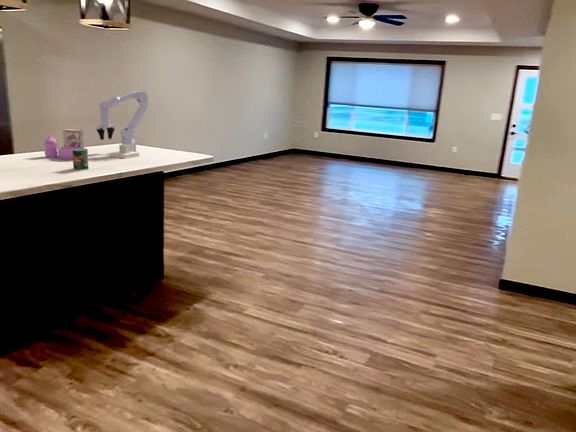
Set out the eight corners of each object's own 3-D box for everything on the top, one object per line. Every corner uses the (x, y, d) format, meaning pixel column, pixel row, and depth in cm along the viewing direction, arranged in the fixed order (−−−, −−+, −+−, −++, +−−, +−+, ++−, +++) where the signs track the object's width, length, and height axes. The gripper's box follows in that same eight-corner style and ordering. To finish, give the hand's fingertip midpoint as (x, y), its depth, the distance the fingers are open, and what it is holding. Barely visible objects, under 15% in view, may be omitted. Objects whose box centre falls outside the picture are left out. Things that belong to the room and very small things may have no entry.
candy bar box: (64, 155, 322) (62, 129, 318) (68, 154, 327) (66, 128, 323) (80, 156, 321) (79, 130, 317) (84, 155, 326) (83, 130, 322)
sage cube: (124, 151, 333) (123, 144, 332) (130, 152, 332) (130, 145, 331) (119, 152, 329) (119, 145, 327) (126, 153, 327) (125, 145, 326)
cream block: (125, 155, 339) (124, 150, 339) (139, 156, 335) (139, 152, 334) (110, 157, 327) (110, 152, 326) (125, 159, 322) (124, 154, 322)
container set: (89, 157, 318) (88, 137, 315) (76, 161, 304) (75, 139, 300) (52, 154, 321) (51, 134, 318) (38, 158, 306) (36, 136, 303)
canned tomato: (72, 169, 276) (71, 150, 273) (74, 167, 283) (73, 148, 280) (87, 170, 278) (86, 150, 275) (89, 167, 285) (88, 148, 282)
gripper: (108, 118, 342) (108, 137, 345) (92, 118, 329) (93, 139, 332) (116, 118, 339) (117, 138, 343) (101, 119, 326) (101, 140, 330)
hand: (106, 139), depth 337 cm, fingers open, 7 cm apart
